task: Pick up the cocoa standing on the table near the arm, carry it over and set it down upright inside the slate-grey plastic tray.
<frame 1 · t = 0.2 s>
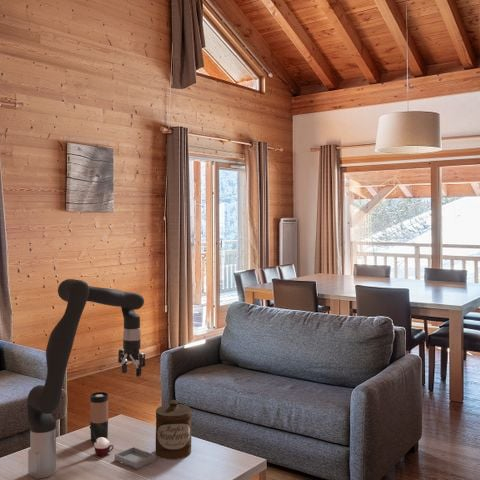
hand: (131, 374, 251), 28 cm above the table, fingers open, 8 cm apart
labeled brown tin: (173, 452, 239), on the table
tray: (135, 460, 230), on the table
cocoa: (101, 454, 236), on the table
travel mug: (99, 440, 251), on the table
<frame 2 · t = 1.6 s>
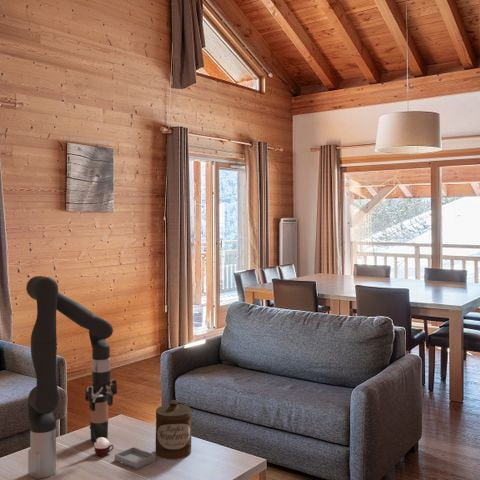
hand: (101, 408, 235), 19 cm above the table, fingers open, 8 cm apart
nothing on the table moved.
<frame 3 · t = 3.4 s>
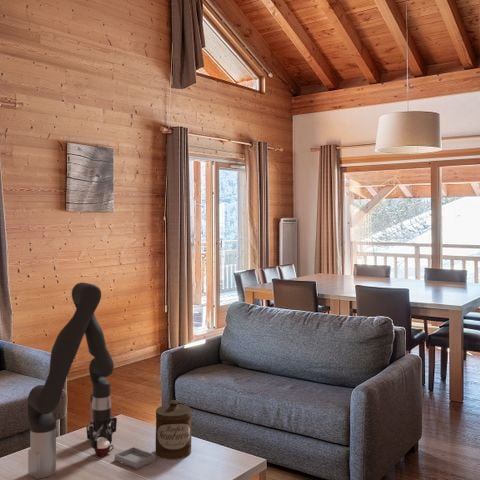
hand: (102, 445, 236), 3 cm above the table, fingers closed on cocoa, 6 cm apart
cocoa: (101, 454, 236), on the table, touching gripper
everything else where it was.
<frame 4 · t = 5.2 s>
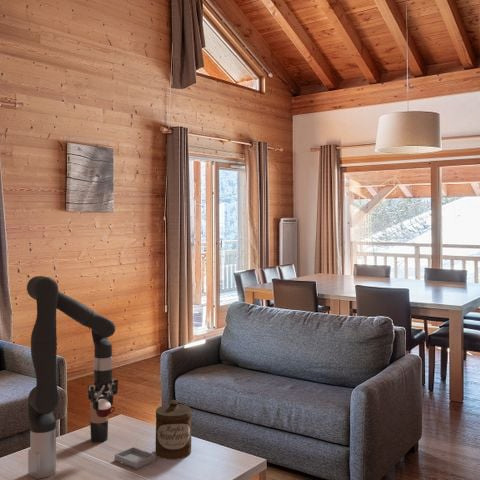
hand: (103, 407, 235), 20 cm above the table, fingers closed on cocoa, 6 cm apart
cocoa: (102, 416, 235), point 16 cm above the table, touching gripper
everything else where it was.
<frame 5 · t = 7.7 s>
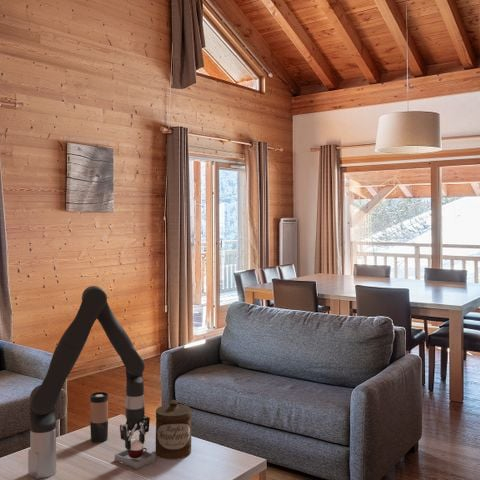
hand: (135, 446, 230), 6 cm above the table, fingers closed on cocoa, 6 cm apart
cocoa: (134, 457, 229), point 2 cm above the table, touching gripper
everything else where it was.
when the fingers open (6 cm above the table, at t = 8.2 s): cocoa stays where it is, resting on tray.
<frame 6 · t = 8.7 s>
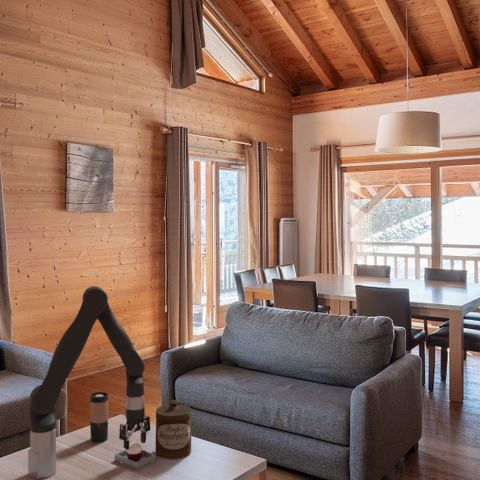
hand: (135, 445, 230), 6 cm above the table, fingers open, 8 cm apart
cocoa: (133, 460, 229), resting on tray
everything else where it was.
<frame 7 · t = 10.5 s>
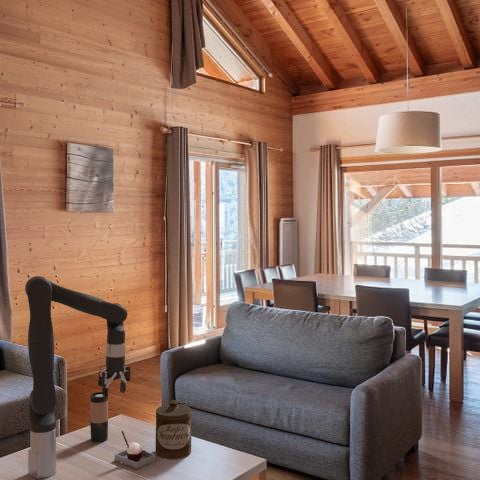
hand: (114, 394, 228), 27 cm above the table, fingers open, 8 cm apart
nothing on the table moved.
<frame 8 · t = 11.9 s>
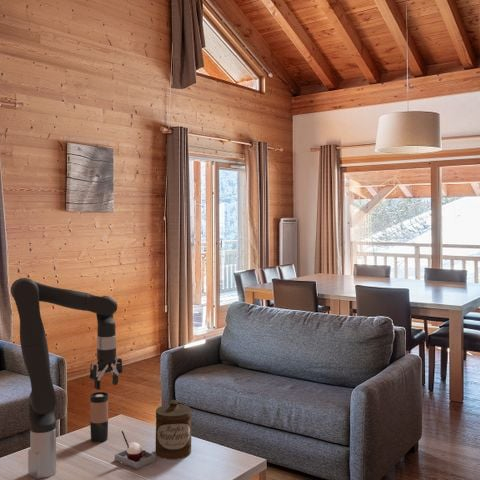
hand: (106, 387, 228), 30 cm above the table, fingers open, 8 cm apart
nothing on the table moved.
at the end: cocoa inside the target area on the tray (0.7 cm from its centre), point 0.4 cm above the tray's base; cocoa tilted 0°; the gripper is holding nothing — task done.
